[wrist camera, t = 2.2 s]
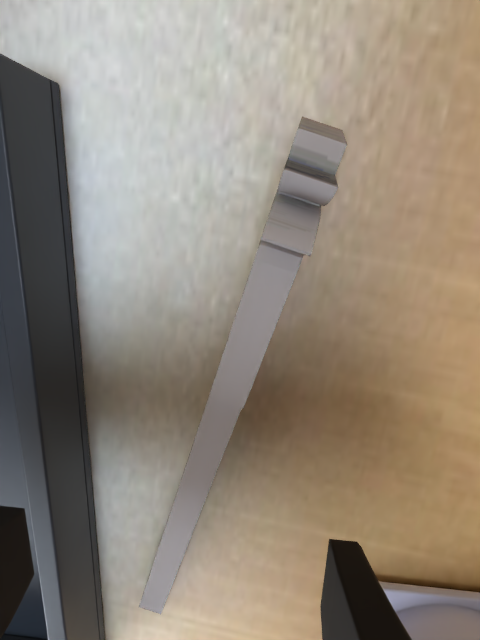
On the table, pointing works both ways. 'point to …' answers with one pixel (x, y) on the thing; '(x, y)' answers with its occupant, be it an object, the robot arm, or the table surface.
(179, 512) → the caliper
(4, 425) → the tray
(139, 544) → the table surface
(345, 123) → the table surface
